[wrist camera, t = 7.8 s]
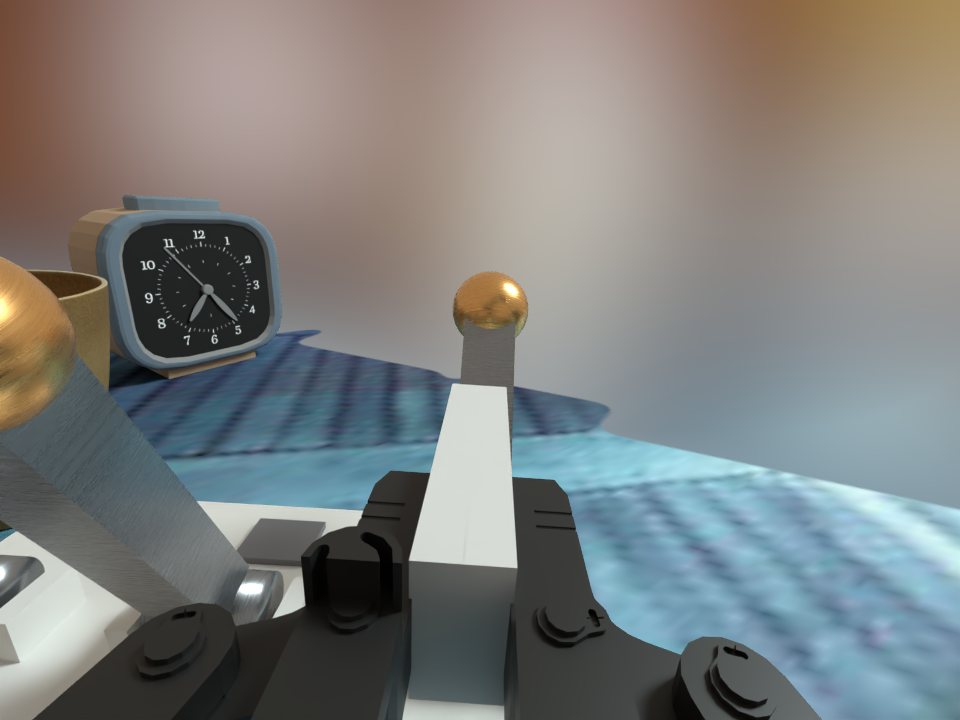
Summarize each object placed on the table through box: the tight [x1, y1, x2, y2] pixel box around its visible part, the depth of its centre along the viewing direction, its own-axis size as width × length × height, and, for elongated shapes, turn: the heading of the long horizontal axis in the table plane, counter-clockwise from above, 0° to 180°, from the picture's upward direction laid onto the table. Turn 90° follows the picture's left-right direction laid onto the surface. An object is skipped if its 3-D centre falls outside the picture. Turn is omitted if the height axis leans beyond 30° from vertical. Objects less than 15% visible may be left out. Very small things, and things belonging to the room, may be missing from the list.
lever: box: [453, 272, 528, 460], centre depth 17 cm, size 3×3×14 cm
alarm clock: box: [68, 195, 282, 379], centre depth 59 cm, size 21×10×22 cm, turn 147°
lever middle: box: [0, 256, 284, 626], centre depth 10 cm, size 3×3×14 cm
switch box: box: [0, 501, 504, 720], centre depth 16 cm, size 24×14×10 cm, turn 89°
